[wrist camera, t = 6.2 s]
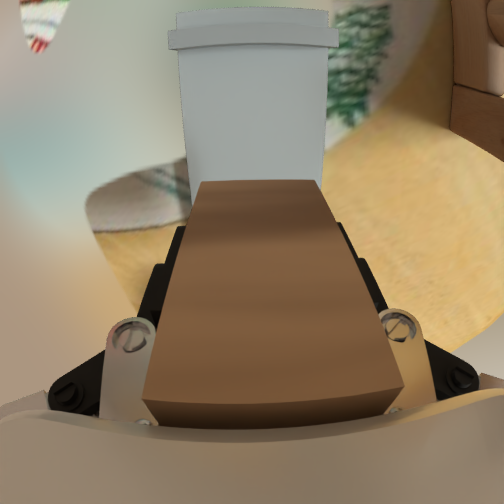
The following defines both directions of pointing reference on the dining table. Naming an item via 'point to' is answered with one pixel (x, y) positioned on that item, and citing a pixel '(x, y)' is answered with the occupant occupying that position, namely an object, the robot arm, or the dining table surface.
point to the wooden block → (479, 73)
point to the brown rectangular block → (267, 317)
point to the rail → (253, 92)
